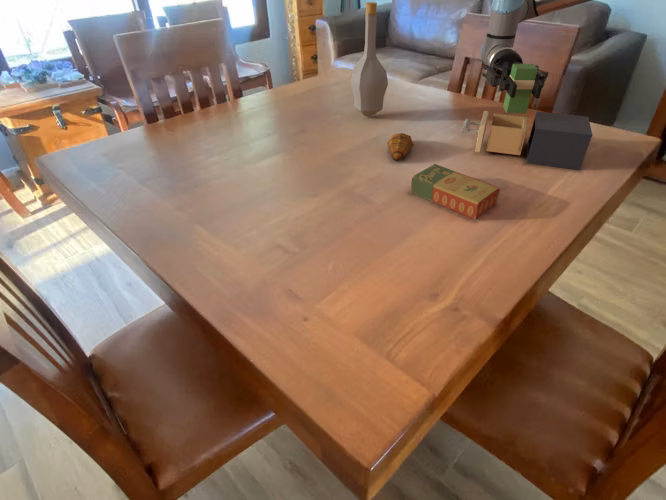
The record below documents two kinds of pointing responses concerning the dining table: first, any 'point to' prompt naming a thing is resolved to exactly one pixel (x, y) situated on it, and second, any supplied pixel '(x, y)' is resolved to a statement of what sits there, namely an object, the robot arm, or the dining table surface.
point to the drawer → (500, 133)
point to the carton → (455, 190)
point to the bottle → (369, 71)
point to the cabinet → (559, 140)
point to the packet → (521, 88)
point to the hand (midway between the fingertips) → (526, 91)
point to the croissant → (399, 146)
